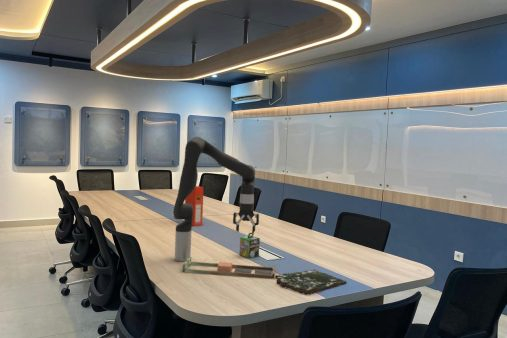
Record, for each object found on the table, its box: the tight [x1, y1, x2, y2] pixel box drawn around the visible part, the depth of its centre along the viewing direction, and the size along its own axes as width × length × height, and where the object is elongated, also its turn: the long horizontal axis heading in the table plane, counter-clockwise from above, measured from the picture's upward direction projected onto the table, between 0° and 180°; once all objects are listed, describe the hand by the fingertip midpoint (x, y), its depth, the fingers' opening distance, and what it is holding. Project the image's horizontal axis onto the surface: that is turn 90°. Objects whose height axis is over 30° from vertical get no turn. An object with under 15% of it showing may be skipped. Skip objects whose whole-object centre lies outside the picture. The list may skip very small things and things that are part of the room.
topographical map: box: [274, 269, 348, 296], centre depth 206 cm, size 26×33×3 cm
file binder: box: [184, 185, 204, 227], centre depth 335 cm, size 8×17×32 cm, turn 36°
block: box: [217, 261, 233, 272], centre depth 217 cm, size 7×7×4 cm
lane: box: [182, 256, 276, 279], centre depth 217 cm, size 14×49×4 cm, turn 86°
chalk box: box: [239, 232, 261, 259], centre depth 249 cm, size 9×9×15 cm
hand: (245, 232), depth 215 cm, fingers open, 7 cm apart
